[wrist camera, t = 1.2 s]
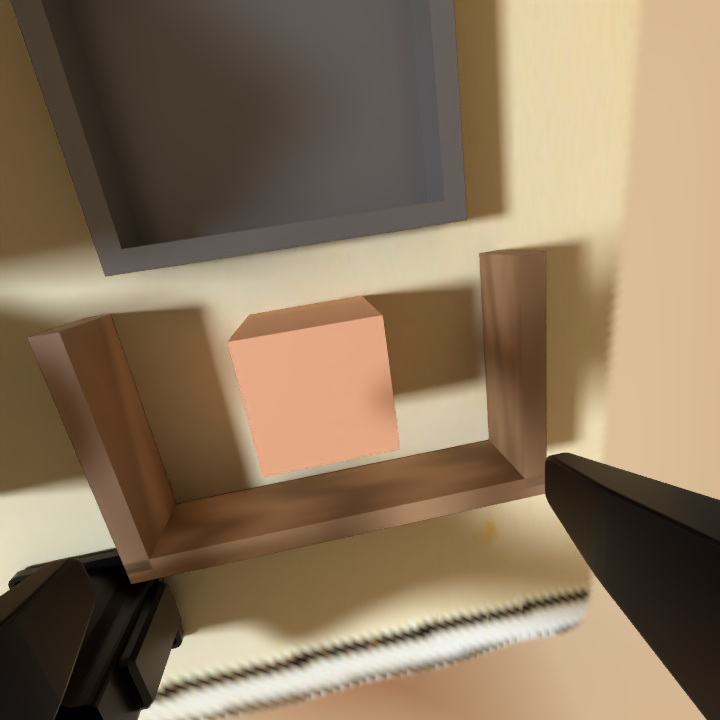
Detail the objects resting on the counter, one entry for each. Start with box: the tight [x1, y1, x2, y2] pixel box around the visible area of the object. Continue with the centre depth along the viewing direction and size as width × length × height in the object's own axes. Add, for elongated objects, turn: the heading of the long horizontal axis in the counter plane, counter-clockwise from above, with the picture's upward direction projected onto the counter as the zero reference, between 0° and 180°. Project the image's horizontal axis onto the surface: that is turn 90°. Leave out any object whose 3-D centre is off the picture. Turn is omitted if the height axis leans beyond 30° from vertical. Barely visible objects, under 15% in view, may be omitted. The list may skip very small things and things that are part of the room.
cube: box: [228, 296, 400, 477], centre depth 16 cm, size 5×5×5 cm
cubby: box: [27, 250, 546, 584], centre depth 17 cm, size 18×10×4 cm, turn 98°
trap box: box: [11, 0, 467, 277], centre depth 13 cm, size 13×11×2 cm
